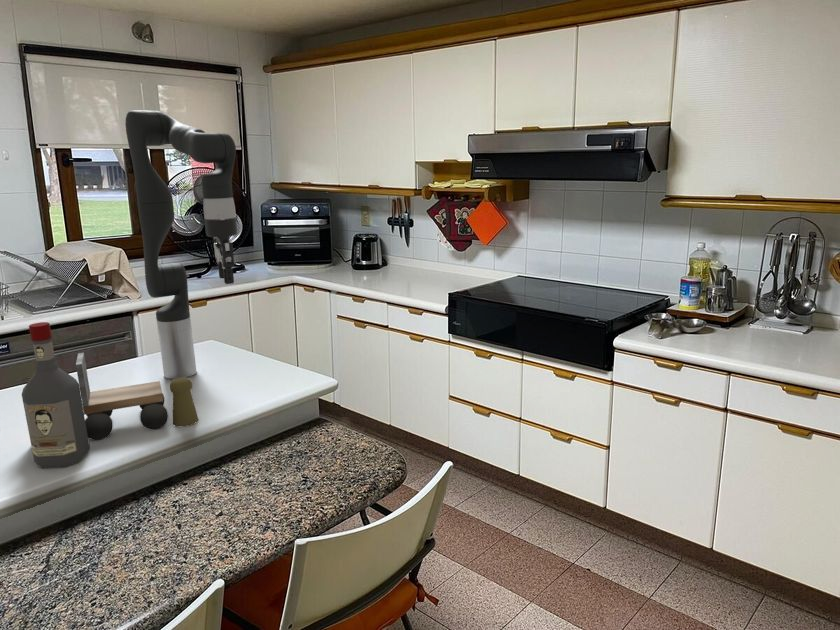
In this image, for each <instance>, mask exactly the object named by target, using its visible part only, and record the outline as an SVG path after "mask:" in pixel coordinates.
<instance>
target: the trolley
mask: <svg viewBox="0 0 840 630" xmlns="http://www.w3.org/2000/svg"><path fill="white" fill-rule="evenodd" d="M75 367H76V368H75V369H76V375H77V379H78V380H77V382H78V383H79V388H80V394H81V400H82V406H83V412H84V416H85V415H86V418H85V423H86V429H87V435H88V440H91V441H101V440H104V439H106V438H108V437H109V436H110V435H111V434H112V432H113V428H114V427H113V425H114V424H113V420H112V418H111V416H112V414H113V412H114V411H115V410H120V409H126V408H132V407H138V406H139V407H140V409H141V410H140V414H139V415H140V416H139V418H140V423H141V425H142V426H143V427H144V428H145V429H147V430H150V431H155V430H160V429H161V428H163V427H164V426H165V425H166V424H167V422H168V420H169V415H168V410H167V408H166V407H165V406H164V404H165V396H164V393H163V390H162V385H161V381H160V380H158V381H152V382H145V383H139V384H133V385H126V386H119V387H115V388H106V389H101V390H94V391H91V389H90V383H89V377H88V371H87V364H86V358H85V353H84V352H78V353H77V357H76V363H75ZM113 410H114V411H113Z"/></svg>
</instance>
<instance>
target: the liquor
mask: <svg viewBox="0 0 840 630" xmlns="http://www.w3.org/2000/svg"><path fill="white" fill-rule="evenodd" d="M28 327H29V335H30V340H31V341H32V346H33V351H34V358H35V364H36V365H35V372H34V373H33V375H31V378H29V380H28V381H27V383H26V385H25V386H24V387H23V388H22V392H21V398H22V403H23V409H24V414H25V415H24V416H25V419H26V425H27V430H28V435H29V440H30V446H31V451H32V456H33V462H34V463H35V464H36V465H37V466H39V468H41V469H56V468H57V469H58V468H59V469H60V468H67V467H70V466H73V465H75V464H78V463H79V462H81V460H83V459H84V458H85V456H87V454H89V452H90V448H91V447H90V444H89V442H90V441H89V438H88V435H87V429H86V423H85V419H86V418H85V415H84V411H83V405H82V399H81V393H80V387H79V381H78V380H77V378H75V377H74V376H72V375H70V374H69V373H68V372H66V371H65V370H63V369H62V368H60V367H59V364H58V362H57V360H56V357H55V349H54V346H53V345H54V344H53V341H52V338H53V335H52V330H51V324H50V322H48V321H47V322H44V321H42V322H36V323H35V322H34V323H31V324H29V325H28Z"/></svg>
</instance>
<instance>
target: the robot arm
mask: <svg viewBox="0 0 840 630" xmlns="http://www.w3.org/2000/svg"><path fill="white" fill-rule="evenodd" d="M124 124H125V132H126V139H127V143H128V148H129V152H130V158H131V162H132V163H131V164H132V167H133V169H132V170H133V173H134V175H133V176H134V183H135V191H136V204H137V209H138V210H137V211H138V217H139V225H140V229H141V231H140V232H141V237H142V244H143V261H144V274H145V275H144V276H145V286H146V290H147V293H148V294H149V296H150V297H151V298H153V299H154V298H155V299H156V298H157V299H158V298H164V297H171V296H174V297H173V299H171V301H170V302H168V303H166V304H165V305H163V306H162V307H160V308H158V309H157V310H156V311H155V316H156V318H155V319H156V325H157V332H158V334H157V335H158V341H159V347H160V355H161V364H162V370H163V377H164V378H166V379H171V380H174V379H176V378H181V377H186V378H189V377H191V376H193V375H195V374H196V373H197V372H198V371H197V363H196V355H195V347H194V337H193V331H192V322H191V321H192V320H191V313H190V302H189V301H190V300H189V291H188V290H189V287H188V285H189V284H188V276H187V275H188V274H187V271H186V268H185V266H184V265H183V264H182V263H179V262H173V263H164V264H159V262H158V261H159V255H160V251H161V247H162V245H163V243H164V241H165V239H166V238H167V235H168V234H169V232H170V230H171V228H172V225H173V224H174V221H175V208H174V198H173V194H172V192H171V190H170V188H169V187H168V185H167V184H166V182H165V181H164V180H163V179H162V177H161V176H160V175H159V174H158V172H157V171H156V169H155V168H154V166H153V164H152V162H151V159H150V156H149V152H148V147H160V146H165V145H171V146H172V148H174V149H175V150H176V151H178V152H179V153H182V154H185V155H186V156H187V155H188V156H189V157H190V158H192V160H193V161H195V162H197V163H201V164H216V166H215V169H214V171H212V172H210V173H209V172H208V173H205V174H203V176H201V187H202V188H201V189H202V199H203V201H202V202H203V203H202V204H203V218H204V228H205V229H204V230H205V234H206V236H207V237H210V238H213V248H214V249H213V250H214V256H215V261H216V263H217V268H218V276H219V278H220V279H223V282H224V284H225V285H232V284H234V283H235V280H234V279H235V278H234V267H235V265H236V264H235V258H234V248H233V242H232V241H230V237H233V236H237V234H238V225H237V216H236V205H235V199H234V197H233V196H234V195H233V184H232V180H233V172H234V167H235V162H236V161H235V160H236V156H237V155H236V154H237V148H236V143H235V140H234V139H233V137H232V136H231V135H230V134H228V133H226V132H225V133H224V132H205V131H204V130H203V129H201V128H199V127H195V126H191V125H187V124H186V123H185V124H184V123H182V122H180V121H178V120H177V119H175V118H173V117H172V116H170V115H169V114H167V113H165V112H163V111H161V110H144V109H143V110H141V109H139V110H135V109H133V110H129V111H128V112H127V113H126V117H125V123H124Z"/></svg>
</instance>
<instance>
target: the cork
mask: <svg viewBox="0 0 840 630" xmlns="http://www.w3.org/2000/svg"><path fill="white" fill-rule="evenodd" d="M192 390H193V381H192V380H191V379H190V378H189V377H181V378H176V379H171V380H170V382H169V391H170V393H172V426H174V425H175V426H174V427H178V426H183V427H188V426H187V425H189V426H192V425H195V424H196V423H198V422H199V416H198V412H197V408H196V405H195V402H194V398H193V394H192ZM197 421H198V422H197ZM195 422H196V423H195ZM194 423H195V424H194ZM191 424H192V425H191Z"/></svg>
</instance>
